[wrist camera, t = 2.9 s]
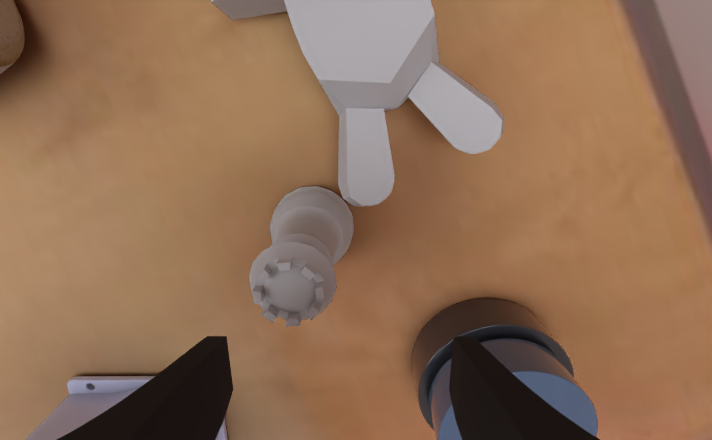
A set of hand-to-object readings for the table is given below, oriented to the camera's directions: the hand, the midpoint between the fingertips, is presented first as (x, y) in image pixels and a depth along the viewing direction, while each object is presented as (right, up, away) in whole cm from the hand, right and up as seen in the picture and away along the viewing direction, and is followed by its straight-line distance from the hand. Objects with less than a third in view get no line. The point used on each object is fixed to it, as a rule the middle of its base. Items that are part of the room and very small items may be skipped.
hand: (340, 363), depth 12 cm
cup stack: (+8, -4, +11) cm, 15 cm away
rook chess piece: (-2, +4, +9) cm, 10 cm away
